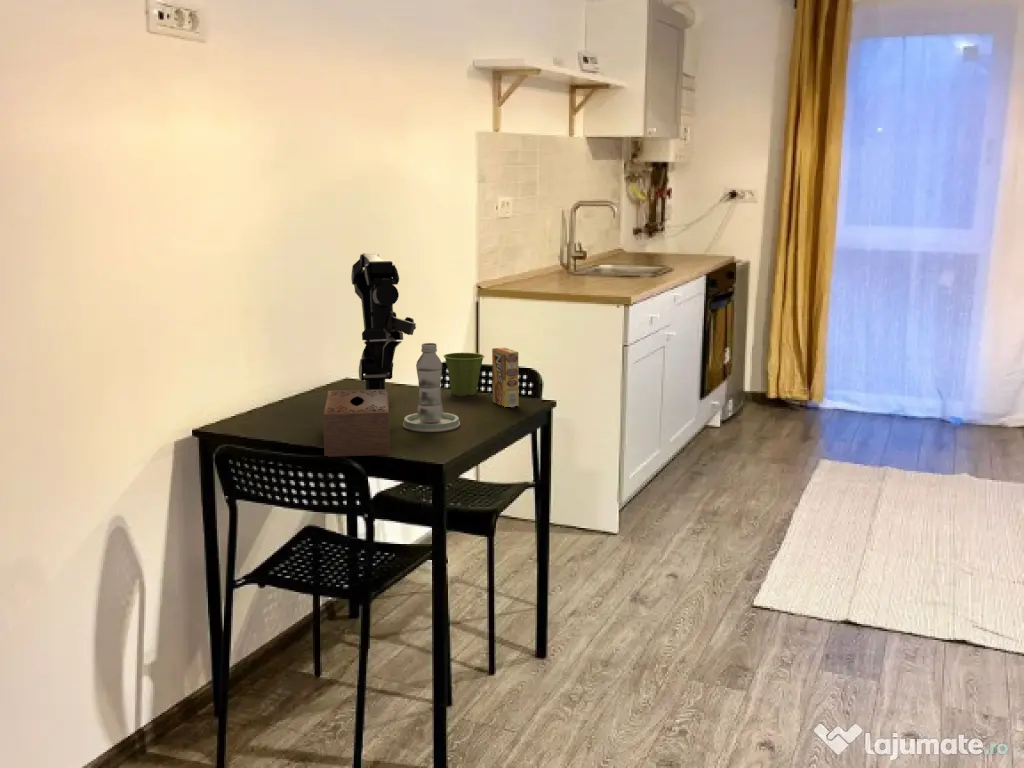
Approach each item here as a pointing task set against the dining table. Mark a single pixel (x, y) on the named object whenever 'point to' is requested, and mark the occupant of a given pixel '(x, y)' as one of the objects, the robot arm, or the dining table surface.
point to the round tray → (444, 425)
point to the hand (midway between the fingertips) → (384, 368)
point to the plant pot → (463, 372)
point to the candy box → (505, 377)
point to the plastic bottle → (429, 384)
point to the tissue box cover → (356, 423)
